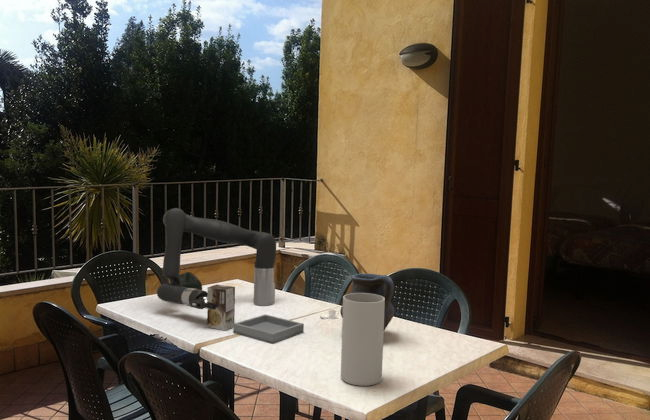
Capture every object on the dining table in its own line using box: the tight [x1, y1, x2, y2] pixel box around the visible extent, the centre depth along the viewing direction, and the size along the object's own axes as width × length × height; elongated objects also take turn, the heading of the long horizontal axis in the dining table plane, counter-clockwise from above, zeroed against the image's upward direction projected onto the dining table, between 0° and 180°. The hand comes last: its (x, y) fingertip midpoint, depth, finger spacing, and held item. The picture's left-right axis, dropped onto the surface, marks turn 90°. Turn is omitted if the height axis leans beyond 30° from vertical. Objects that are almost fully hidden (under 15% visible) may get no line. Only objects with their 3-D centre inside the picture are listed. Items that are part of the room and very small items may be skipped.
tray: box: [232, 314, 305, 345], centre depth 205 cm, size 18×20×4 cm
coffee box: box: [206, 284, 236, 331], centre depth 210 cm, size 9×6×16 cm
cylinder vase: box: [340, 293, 385, 387], centre depth 161 cm, size 12×12×25 cm
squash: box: [179, 271, 203, 290], centre depth 250 cm, size 14×15×15 cm
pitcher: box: [340, 273, 396, 332], centre depth 203 cm, size 21×22×25 cm
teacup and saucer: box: [319, 308, 342, 322], centre depth 228 cm, size 9×8×4 cm
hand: (222, 305), depth 209 cm, fingers closed on coffee box, 7 cm apart
